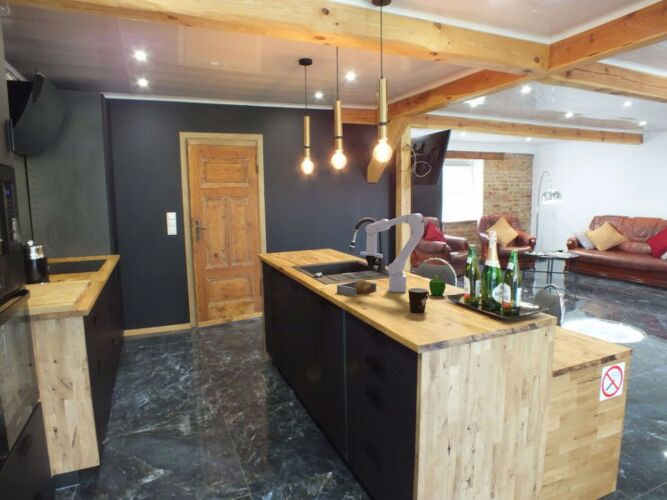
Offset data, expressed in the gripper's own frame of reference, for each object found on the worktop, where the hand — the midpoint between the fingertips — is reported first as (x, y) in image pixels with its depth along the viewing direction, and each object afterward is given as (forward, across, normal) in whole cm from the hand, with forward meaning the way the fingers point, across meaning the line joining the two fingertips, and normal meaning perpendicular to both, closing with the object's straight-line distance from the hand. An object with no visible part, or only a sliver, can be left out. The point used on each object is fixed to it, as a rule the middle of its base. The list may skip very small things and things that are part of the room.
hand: (370, 269), depth 239 cm
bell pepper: (+10, -36, -10) cm, 39 cm away
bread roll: (+11, -4, +11) cm, 16 cm away
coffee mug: (+10, -47, +24) cm, 54 cm away
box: (+10, -2, +14) cm, 17 cm away
